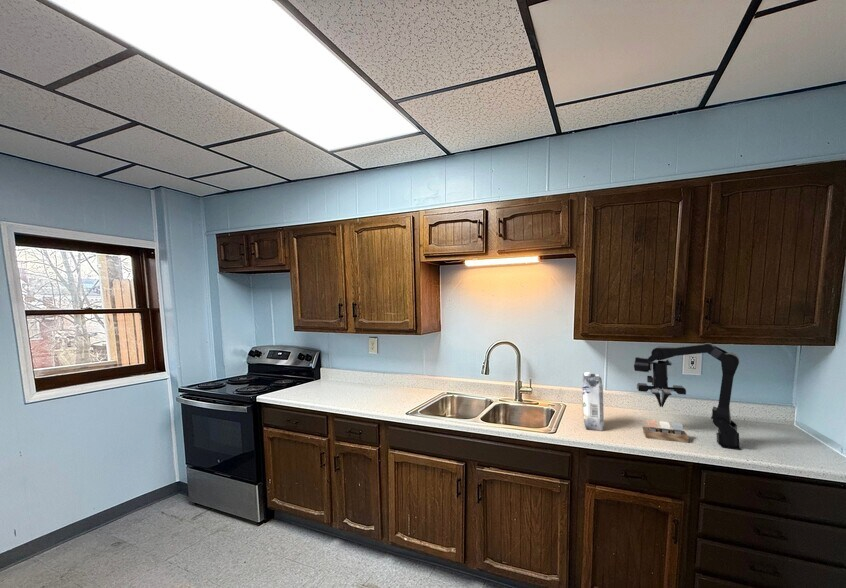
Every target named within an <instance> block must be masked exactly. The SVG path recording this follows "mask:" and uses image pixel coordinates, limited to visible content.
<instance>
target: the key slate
mask: <svg viewBox="0 0 846 588" xmlns="http://www.w3.org/2000/svg"><path fill="white" fill-rule="evenodd" d="M671 428H672V430H674V434H681V431H684V425H683V424H682V423H680V422H671Z"/></svg>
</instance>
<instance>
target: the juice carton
mask: <svg viewBox="0 0 846 588" xmlns="http://www.w3.org/2000/svg"><path fill="white" fill-rule="evenodd" d="M603 385H604V384H603V380H602V377H601V375H600V374H599V373H591V372H590V371H587V372H583V373H582V381H581V387H582V388H581V390H582V391H581V392H582V395H581V397H582V418H583V423H584V427H585V430H589V431H597V432H602V431H603V430H604V429H603V428H604V423H605V422H604V421H605V420H604V418H605V415H604V387H603Z"/></svg>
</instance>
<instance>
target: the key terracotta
mask: <svg viewBox="0 0 846 588" xmlns="http://www.w3.org/2000/svg"><path fill="white" fill-rule="evenodd" d="M646 423H647V427H649V431H653V432H656V428H659V427H658V422H657V420H651V419H647V420H646Z"/></svg>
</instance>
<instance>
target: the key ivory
mask: <svg viewBox="0 0 846 588" xmlns="http://www.w3.org/2000/svg"><path fill="white" fill-rule="evenodd" d="M658 422H659V423H658V424H659V428H661V430H662V433H668V429H671V423H669V421H661V420H659V421H658Z"/></svg>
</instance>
